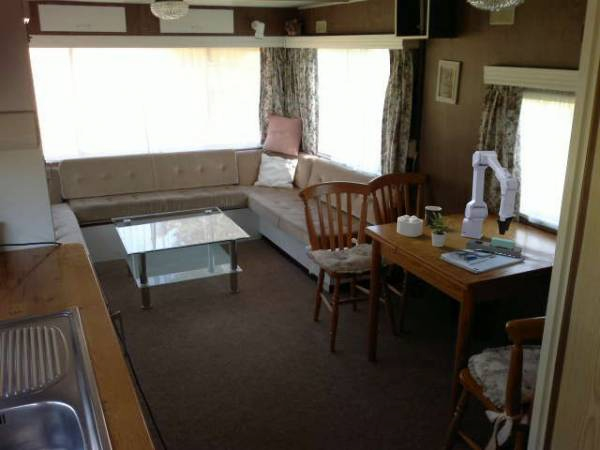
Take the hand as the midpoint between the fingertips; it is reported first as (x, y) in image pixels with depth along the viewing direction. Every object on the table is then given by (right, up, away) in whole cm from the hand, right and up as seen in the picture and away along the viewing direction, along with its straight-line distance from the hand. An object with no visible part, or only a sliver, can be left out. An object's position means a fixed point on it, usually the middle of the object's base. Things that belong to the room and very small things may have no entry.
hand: (503, 232), depth 254 cm
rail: (-3, -9, +4) cm, 10 cm away
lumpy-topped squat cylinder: (-38, -1, +30) cm, 49 cm away
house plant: (-29, -6, +12) cm, 32 cm away
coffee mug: (-24, +2, +42) cm, 48 cm away
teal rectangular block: (0, -9, +2) cm, 9 cm away
